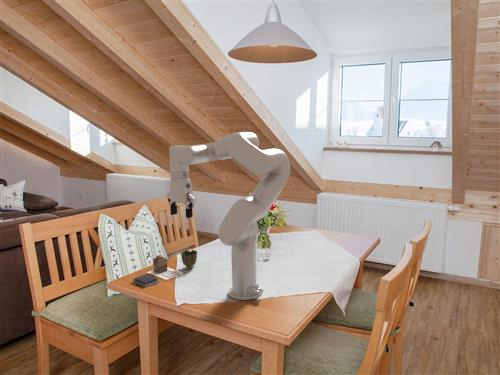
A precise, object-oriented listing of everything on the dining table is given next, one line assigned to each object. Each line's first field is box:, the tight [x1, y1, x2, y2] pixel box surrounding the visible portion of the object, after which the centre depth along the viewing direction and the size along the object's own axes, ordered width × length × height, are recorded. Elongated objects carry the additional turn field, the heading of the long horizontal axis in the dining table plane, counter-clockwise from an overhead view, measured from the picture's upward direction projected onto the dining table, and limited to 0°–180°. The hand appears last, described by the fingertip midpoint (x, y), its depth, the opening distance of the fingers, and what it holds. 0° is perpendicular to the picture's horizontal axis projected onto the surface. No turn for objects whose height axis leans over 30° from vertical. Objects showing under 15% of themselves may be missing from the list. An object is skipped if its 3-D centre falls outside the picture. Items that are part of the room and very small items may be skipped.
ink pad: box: [132, 273, 160, 288], centre depth 179 cm, size 9×7×2 cm
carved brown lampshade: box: [180, 249, 198, 270], centre depth 195 cm, size 8×7×8 cm
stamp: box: [152, 254, 168, 273], centre depth 191 cm, size 4×4×7 cm
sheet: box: [146, 266, 185, 281], centre depth 190 cm, size 14×10×1 cm
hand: (181, 215), depth 177 cm, fingers open, 9 cm apart
